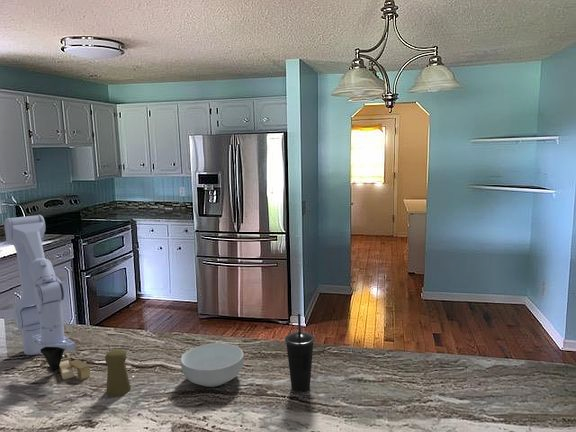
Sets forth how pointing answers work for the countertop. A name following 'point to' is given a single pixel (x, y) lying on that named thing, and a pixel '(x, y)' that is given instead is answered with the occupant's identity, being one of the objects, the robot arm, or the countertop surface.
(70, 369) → the link
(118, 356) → the pepper mill
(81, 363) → the keeper
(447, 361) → the countertop surface
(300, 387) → the drinking cup
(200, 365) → the cereal bowl
